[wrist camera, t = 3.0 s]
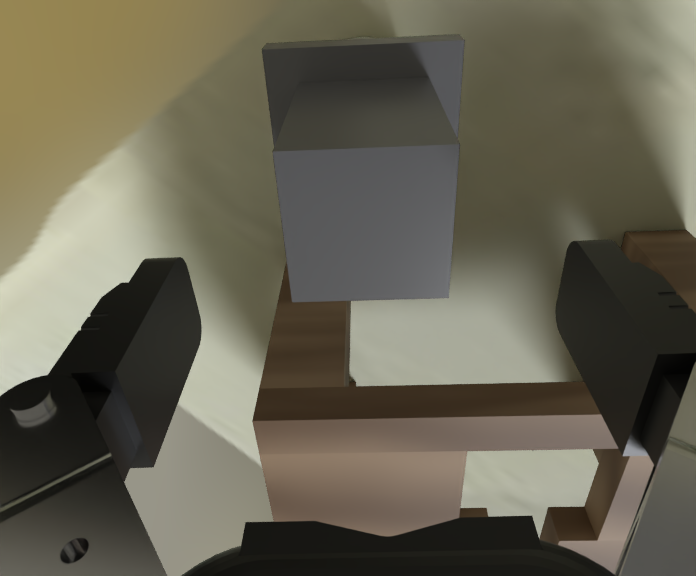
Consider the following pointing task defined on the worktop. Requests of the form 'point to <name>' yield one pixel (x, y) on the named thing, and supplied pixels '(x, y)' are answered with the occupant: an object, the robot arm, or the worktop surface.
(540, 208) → the worktop surface
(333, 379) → the shelf
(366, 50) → the keyhole peg
